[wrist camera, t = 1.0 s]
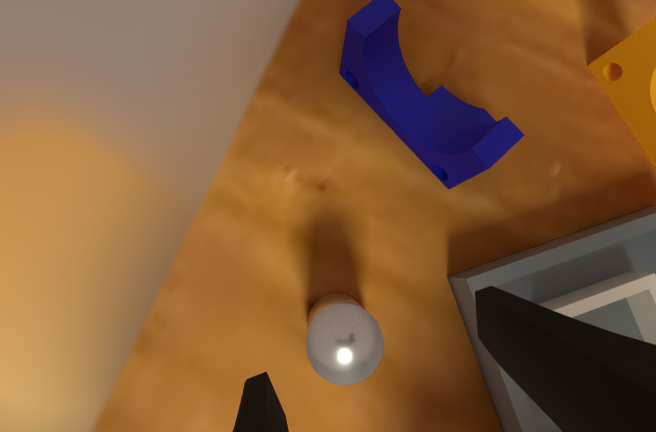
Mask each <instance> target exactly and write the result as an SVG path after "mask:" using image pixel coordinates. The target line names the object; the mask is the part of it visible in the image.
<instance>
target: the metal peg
mask: <svg viewBox="0 0 656 432" xmlns="http://www.w3.org/2000/svg"><path fill="white" fill-rule="evenodd" d="M383 347H384V341H383V335H382V331H381V329H380V326H379V325H378V323H377V321H376V320H375V319H374V317H373V316H372V315H371V314H370V313H369V312H367V311H366V310H365V309H364V308H363V307H362V306H361V305H360V304H359V303H358V302H357V301H355V300H354V299H353V298H351V297H350V296H347V295H345V294H340V293H334V294H329V295H326V296H324V297H322V298H320V299H319V300H318V301H317V302H316V303H315V304H314V305H313V307H312V309H311V310H310V313H309V316H308V325H307V342H306V348H307V354H308V358H309V361H310V363H311V365H312V367H313V368H314V370H315V371H316V372H317V373H318V374H319V375H320V376H321V377H322V378H324V379H325V380H327V381H329V382H331V383H334V384H339V385H351V384H355V383H358V382H361V381H363V380H364V379H366V378H367V377H369V376H370V375H371V374H372V373H373V372H374V371H375V369H376V368H377V366H378V364H379V363H380V360H381V358H382V354H383Z"/></svg>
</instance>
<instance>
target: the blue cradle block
mask: <svg viewBox="0 0 656 432" xmlns="http://www.w3.org/2000/svg"><path fill="white" fill-rule="evenodd" d="M400 10H401V8H400V7H399V6H398V5H397V4H396V3H395V2H394V1H393V0H372V1H371V2H370V3H369V4H367V5H366V6H365V7H364V8H362V9H361V10H360V11H359V12H357V13H356V14H355V15H354V16H352V17H351V18H350V19H349V20H348V21H347V27H346V34H345V41H344V47H343V54H342V61H341V67H340V75H341V76H342V77H343V78H344V79H345V80H346V81H347V82H348V83H349V85H350V86H351V87H352V88H353V89H354V90H355V91H356V92H357V93H358V94H359V95H360V96H361V97H362V98H363V99H364V100H365V101H366V103H367V104H368V105H369V106H370V107H371V108H372V109H373V110H374V111H375V112H376V113H377V114H378V115H379V116H380V117H381V118H382V120H383V121H384V122H385V123H386V124H387V125H388V126H389V127H390V128H391V129H392V130H393V131H394V132H395V133H396V134H397V135H398V136H399V138H400V139H401V140H402V141H403V142H404V143H405V144H406V145H407V146H408V147H409V148H410V149H411V150H412V151H413V152H414V153H415V154H416V156H417V157H418V158H419V159H420V160H421V161H422V162H423V163H424V164H425V165H426V166H427V167H428V168H429V169H430V170H431V171H432V173H433V174H434V175H435V176H436V177H437V178H438V179H439V180H440V181H441V182H442V183H443V184H444V185H445V186H446V187H447V188H448V189H450V188H452V187H454V186H456V185H458V184H460V183H462V182H464V181H466V180H468V179H470V178H472V177H473V176H475V175H477V174H479V173H481V172H483V171H485V170H487V169H489V168H490V167H491V166H492V165H493V164H494V163H495V162H497V161H498V160H499V159H500V158H501V157H502V156H503V155H504V154H505V153H506V152H507V151H508V150H509V149H510V148H511V147H512V146H514V145H515V144H516V143H517V142H518V141H519V140H520V139H521V138H522V137H523V136H524V134H523V133H522V132H521V131H520V130H519V129H518V128H517V127H516V126H515V125H514V124H513V123H512V122H511V121H510V120H509V119H508V118H507V117H505V118H503V119H502V120H499V121H497V122H496V121H495V120H494V119H493V118H492V117H491V116H490V114H489V113H488V112H487V111H486V110H485V109H481V108H478V107H475V106H472V105H469V104H467V103H465V102H463V101H461V100H460V99H458V98H457V97H455V96H454V95H452V94H451V93H450V92H449V91H447V90H446V89H445V88H444V87H443V86H442V85H441V86H440V87H439V88H438V89H437V90H436V91H434V92H433V93H432V94H431V95H430V96H429V97H428V98H427V97H426V96H425V95H424V94H423V92H422V91H421V90H420V89H419V87H418V86H417V85H416V83H415V82H414V80H413V79H412V77H411V75H410V73H409V71H408V69H407V67H406V65H405V63H404V60H403V57H402V54H401V50H400V46H399V41H398V19H399V14H400Z"/></svg>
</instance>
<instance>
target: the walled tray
mask: <svg viewBox="0 0 656 432" xmlns="http://www.w3.org/2000/svg"><path fill="white" fill-rule="evenodd" d="M448 280H449V283H450V286H451V288H452V291H453V294H454V297H455V299H456V302H457V305H458V308H459V310H460V313H461V316H462V319H463V322H464V324H465V327H466V330H467V333H468V335H469V338H470V341H471V344H472V346H473V349H474V352H475V355H476V357H477V360H478V363H479V366H480V368H481V371H482V374H483V377H484V379H485V382H486V385H487V388H488V390H489V393H490V396H491V399H492V401H493V404H494V407H495V410H496V412H497V415H498V418H499V421H500V423H501V426H502V429H503V432H562V431H561V430H560V429H559V427H558V426H557V425H556V424H555V423H554V422H553V421H552V420H551V419H550V418H549V417H548V416H547V415H546V414H545V413H544V412H543V411H542V410H541V409H540V407H539V406H538V405H537V404H536V403H535V402H534V401H533V400H532V399H531V398H530V397H529V396H528V395H527V394H526V393H525V392H524V391H523V390H522V389H521V388H520V387H519V386H518V385H517V384H516V383H515V381H514V380H513V379H512V378H511V377H510V376H509V375H508V374H507V373H506V372H505V371H504V370H503V369H502V368H501V367H500V366H499V364H498V363H497V362H496V361H495V359H494V358H493V357H492V356H491V354H490V353H489V352H488V350H487V349H486V348H485V346H484V345H483V344H482V342H481V341H480V340H479V338H478V332H477V318H476V303H475V291H478V290H480V289H483V288H486V287H488V286H493V287H496V288H499V289H501V290H504V291H506V292H509V293H511V294H514V295H516V296H518V297H521V298H523V299H526V300H528V301H531V302H533V303H536V304H538V305H540V306H543V307H545V308H548V309H550V310H553V311H556V312H558V313H561V314H563V315H566V316H569V317H571V318H574V319H577V320H579V321H582V322H585V323H588V324H591V325H594V326H597V327H600V328H602V329H605V330H608V331H611V332H614V333H618V334H621V335H624V336H627V337H631V338H634V339H638V340H641V341H645V342H648V343H652V344H655V345H656V205H653V206H650V207H647V208H644V209H641V210H638V211H635V212H632V213H630V214H627V215H624V216H621V217H618V218H615V219H612V220H609V221H606V222H604V223H601V224H598V225H595V226H592V227H589V228H586V229H583V230H581V231H578V232H575V233H572V234H569V235H566V236H563V237H560V238H557V239H555V240H552V241H549V242H546V243H543V244H540V245H537V246H534V247H532V248H529V249H526V250H523V251H520V252H517V253H514V254H511V255H508V256H506V257H503V258H500V259H497V260H494V261H491V262H488V263H485V264H482V265H480V266H477V267H474V268H471V269H468V270H465V271H462V272H459V273H457V274H454V275H451V276H448Z"/></svg>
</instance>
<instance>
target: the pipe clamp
mask: <svg viewBox="0 0 656 432" xmlns="http://www.w3.org/2000/svg"><path fill="white" fill-rule="evenodd" d="M587 66H588V68H589V69H590V71H591V72H592V74H593V75H594V77H595V78H596V80H597V81H598V83H599V84H600V86H601V87H602V89H603V90H604V92H605V93H606V95H607V96H608V98H609V99H610V101H611V102H612V104H613V105H614V107H615V108H616V110H617V111H618V113H619V114H620V116H621V117H622V119H623V120H624V122H625V123H626V125H627V126H628V128H629V129H630V131H631V132H632V134H633V135H634V137H635V138H636V140H637V141H638V143H639V144H640V146H641V147H642V149H643V150H644V152H645V153H646V155H647V156H648V158H649V159H650V161H651V162H652V164H653V165H654V167H655V168H656V17H655V18H654V19H652V20H651V21H650V22H648V23H647V24H645V25H644V26H643V27H641V28H640V29H638V30H637V31H636V32H634V33H633V34H631V35H630V36H628V37H627V38H626V39H624V40H623V41H621V42H620V43H619V44H617V45H616V46H614V47H613V48H612V49H610V50H609V51H607V52H606V53H604V54H603V55H602V56H600V57H599V58H597V59H596V60H595V61H593V62H592V63H590V64H589V65H587Z"/></svg>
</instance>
